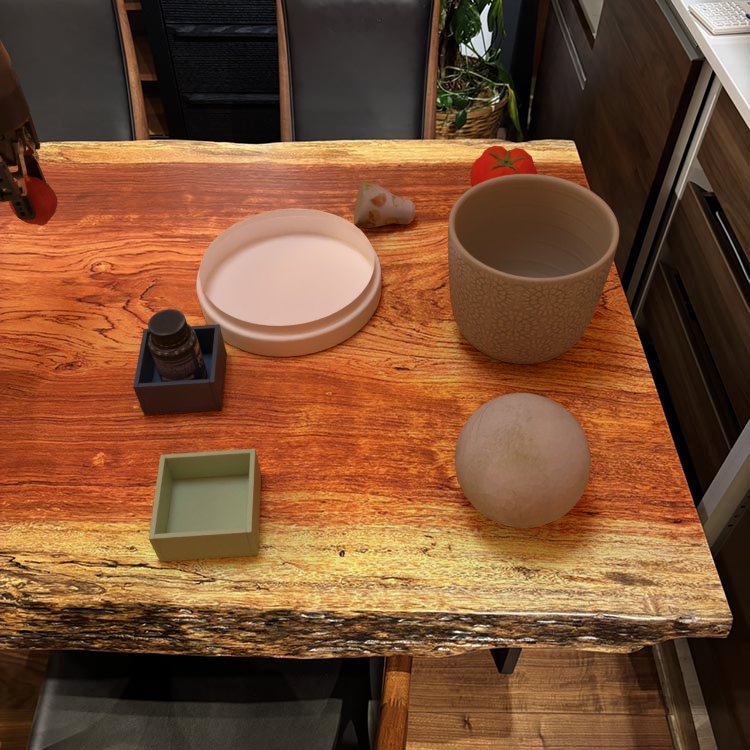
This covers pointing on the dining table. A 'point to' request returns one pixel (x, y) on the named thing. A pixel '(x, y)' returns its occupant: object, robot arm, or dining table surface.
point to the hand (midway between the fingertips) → (33, 202)
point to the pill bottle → (175, 347)
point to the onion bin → (206, 505)
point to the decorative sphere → (522, 460)
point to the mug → (381, 207)
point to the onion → (39, 200)
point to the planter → (528, 264)
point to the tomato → (501, 164)
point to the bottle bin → (183, 393)
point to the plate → (289, 282)
